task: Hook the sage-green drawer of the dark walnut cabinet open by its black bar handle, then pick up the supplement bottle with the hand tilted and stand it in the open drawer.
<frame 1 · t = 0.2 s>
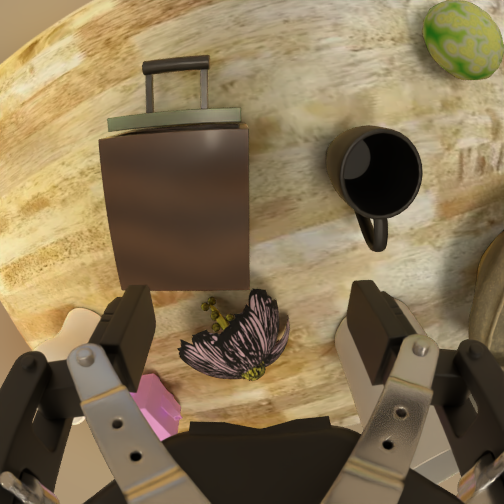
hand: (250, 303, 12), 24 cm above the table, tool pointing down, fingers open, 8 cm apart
cabinet: (190, 190, 35), on the table
bowl: (499, 259, 41), on the table
decorative ball: (439, 44, 27), on the table
drawer: (180, 154, 29), point 5 cm above the table, slide at 0.5 cm
mug: (349, 172, 35), on the table
cup: (88, 327, 43), on the table
cylinder vase: (372, 328, 45), on the table
teapot: (152, 387, 49), on the table
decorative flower: (238, 314, 42), on the table
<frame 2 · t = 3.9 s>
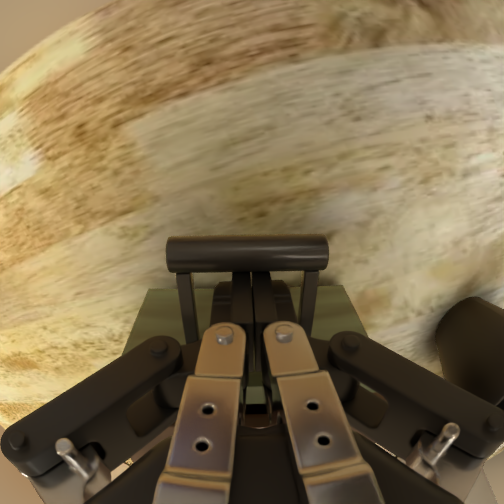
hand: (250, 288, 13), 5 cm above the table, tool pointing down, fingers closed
cabinet: (247, 380, 23), on the table
drawer: (248, 385, 17), point 5 cm above the table, slide at 0.5 cm, touching gripper
mug: (454, 339, 23), on the table
cylinder vase: (426, 451, 33), on the table
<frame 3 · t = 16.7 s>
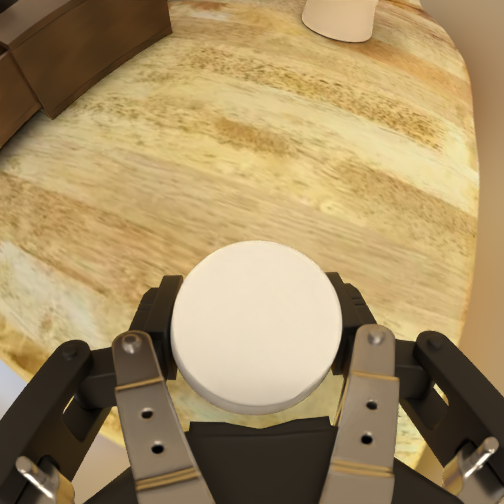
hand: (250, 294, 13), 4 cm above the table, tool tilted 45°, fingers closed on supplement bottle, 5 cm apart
cabinet: (83, 55, 25), on the table
supplement bottle: (250, 344, 16), on the table, touching gripper
mug: (20, 43, 28), on the table
cup: (336, 26, 27), on the table
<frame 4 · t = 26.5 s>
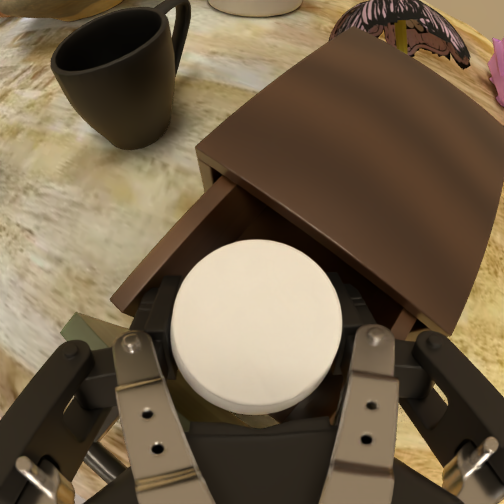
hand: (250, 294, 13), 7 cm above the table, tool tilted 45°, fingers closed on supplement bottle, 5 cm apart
cabinet: (350, 210, 22), on the table
supplement bottle: (250, 344, 16), point 2 cm above the table, touching gripper
bowl: (95, 5, 34), on the table
drawer: (238, 353, 14), point 5 cm above the table, slide at 8.0 cm
mug: (154, 111, 25), on the table
cylinder vase: (254, 1, 32), on the table
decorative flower: (382, 75, 27), on the table
when the fingers open (7 cm above the table, at t = 29.4 s): supplement bottle stays where it is, resting on drawer.
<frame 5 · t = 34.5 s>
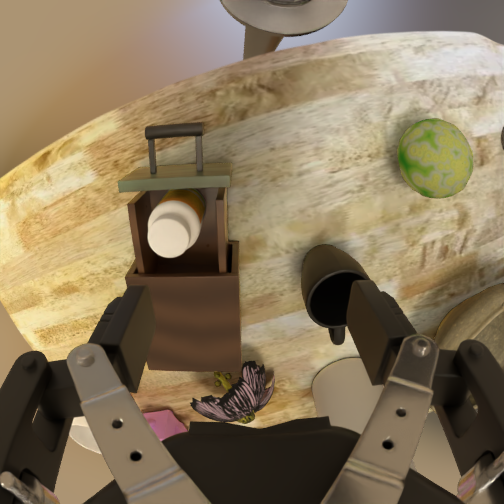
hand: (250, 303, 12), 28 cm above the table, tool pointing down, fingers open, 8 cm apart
cabinet: (195, 289, 45), on the table
supplement bottle: (184, 206, 38), point 2 cm above the table, touching drawer
bowl: (459, 320, 51), on the table
decorative ball: (415, 151, 37), on the table
drawer: (180, 207, 35), point 5 cm above the table, slide at 9.3 cm, touching supplement bottle
mug: (322, 273, 45), on the table
cup: (114, 376, 53), on the table
cylinder vase: (343, 378, 55), on the table
teapot: (167, 418, 59), on the table
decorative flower: (234, 370, 52), on the table
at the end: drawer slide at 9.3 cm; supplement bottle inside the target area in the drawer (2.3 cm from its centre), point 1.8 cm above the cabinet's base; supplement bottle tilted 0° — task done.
